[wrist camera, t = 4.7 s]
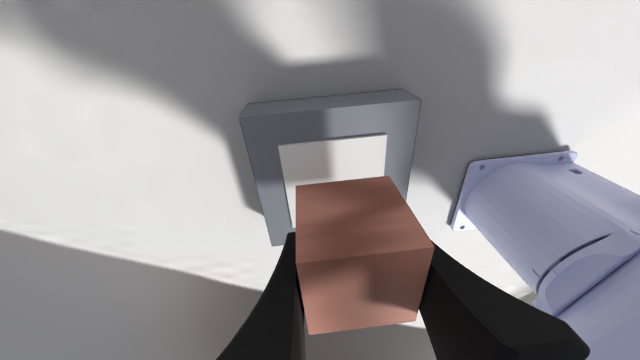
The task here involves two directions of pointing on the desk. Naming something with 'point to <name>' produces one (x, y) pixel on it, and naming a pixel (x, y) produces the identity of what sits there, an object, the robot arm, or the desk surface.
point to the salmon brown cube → (359, 255)
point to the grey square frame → (326, 146)
